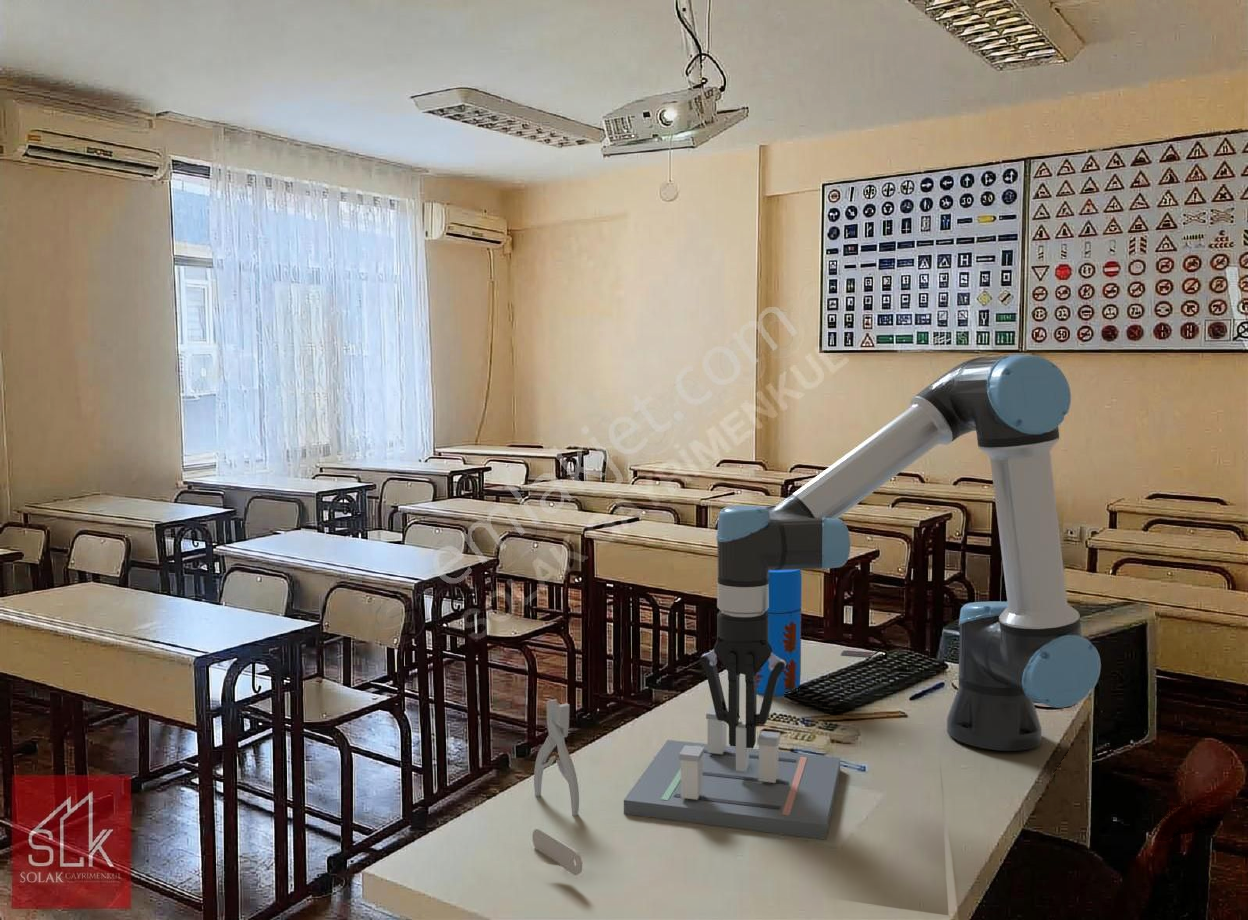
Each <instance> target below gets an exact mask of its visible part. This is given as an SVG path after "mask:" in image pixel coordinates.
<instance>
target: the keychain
mask: <svg viewBox="0 0 1248 920" xmlns="http://www.w3.org/2000/svg"><path fill="white" fill-rule="evenodd" d="M531 838H532V843H533V846H534V849H535V850H537V851H538V852H540V853H542V854H543V855H545V856H546V857H548V858H549V859H551V860H553V861H554V862H556V863H558V865H559V866H560V867H561V868H562V869H565V870H566V871H568V872H569V873H570V874H572V875H574V876H577V875H580V874H581V873H582V870H583V860H582V857H581V855H580V854H579V853H580V852H578V851H577V849H574V848H573V847H571V846H570V845H568V844H567V843H565V842H563V841H562V840H560V839H558V838H556V837H555V836H553V835H551V834H550V833H548V832H547V831H545V830H543V829H542V828H535V829H533V831H532V835H531Z"/></svg>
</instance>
